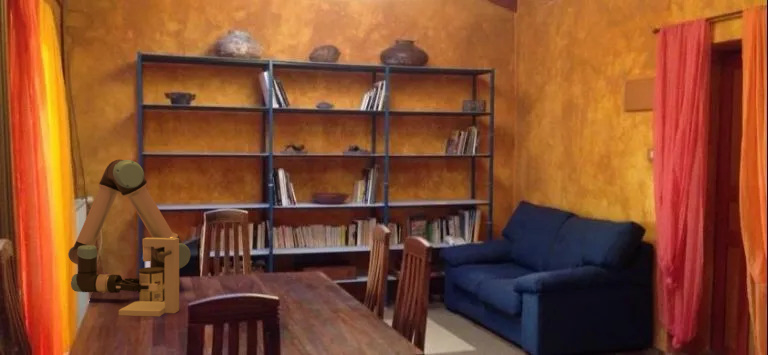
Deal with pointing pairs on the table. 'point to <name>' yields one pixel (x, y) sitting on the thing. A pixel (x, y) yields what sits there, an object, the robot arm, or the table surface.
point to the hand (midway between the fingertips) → (162, 284)
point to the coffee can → (152, 277)
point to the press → (170, 280)
